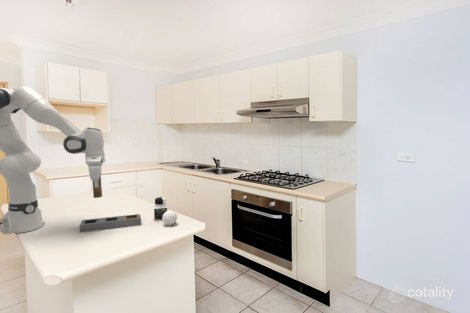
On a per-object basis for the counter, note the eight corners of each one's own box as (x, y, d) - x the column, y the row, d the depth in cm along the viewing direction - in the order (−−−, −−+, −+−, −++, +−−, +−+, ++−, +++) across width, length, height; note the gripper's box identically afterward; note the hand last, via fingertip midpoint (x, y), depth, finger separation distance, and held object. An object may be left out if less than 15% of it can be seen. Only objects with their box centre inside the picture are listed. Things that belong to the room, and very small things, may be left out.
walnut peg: (91, 197, 147) (90, 174, 146) (98, 195, 151) (97, 173, 149) (96, 198, 145) (95, 174, 144) (103, 196, 149) (102, 173, 148)
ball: (169, 228, 156) (172, 214, 160) (178, 226, 151) (181, 211, 155) (157, 224, 152) (161, 209, 156) (166, 221, 147) (169, 207, 151)
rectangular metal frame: (80, 232, 142) (79, 224, 142) (82, 226, 151) (81, 219, 150) (141, 224, 153) (140, 218, 153) (140, 220, 161) (139, 213, 161)
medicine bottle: (154, 220, 160) (153, 199, 159) (154, 216, 167) (153, 196, 166) (167, 219, 162) (166, 198, 161) (166, 215, 169) (166, 196, 168)
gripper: (90, 158, 155) (92, 183, 156) (86, 161, 136) (88, 190, 137) (103, 157, 157) (105, 182, 158) (100, 161, 138) (102, 189, 139)
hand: (97, 186), depth 147 cm, fingers closed on walnut peg, 4 cm apart
